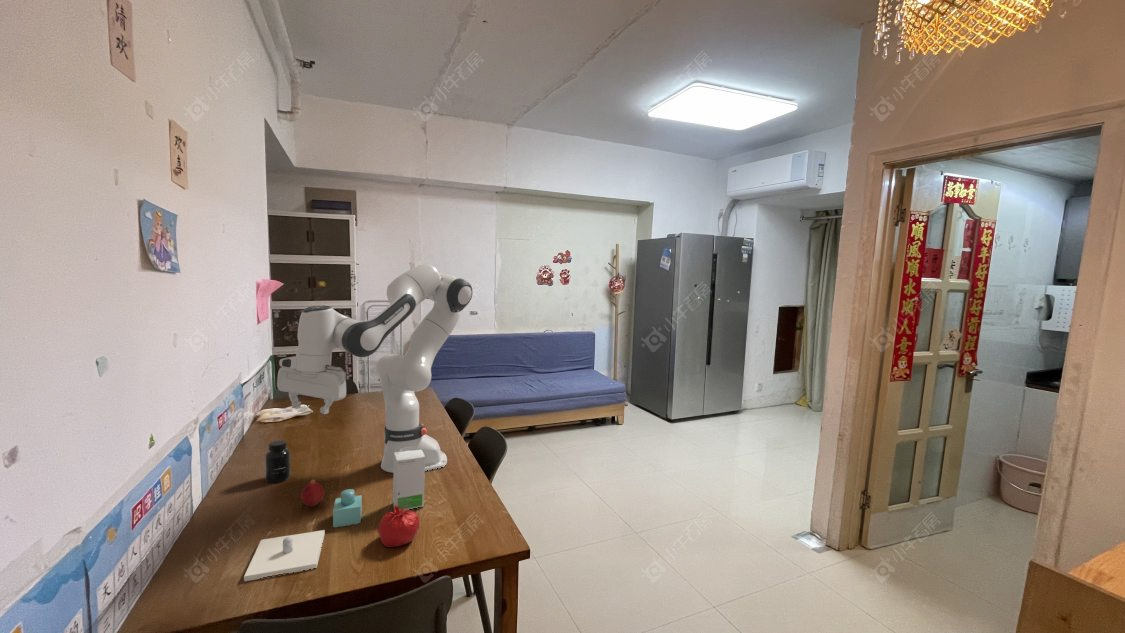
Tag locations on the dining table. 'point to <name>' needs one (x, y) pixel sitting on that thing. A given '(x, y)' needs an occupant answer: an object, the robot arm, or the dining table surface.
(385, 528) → the pomegranate
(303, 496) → the onion
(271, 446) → the supplement bottle
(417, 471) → the skincare box
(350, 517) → the teal knobbed block
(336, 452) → the dining table surface
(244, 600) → the dining table surface
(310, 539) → the post stand
